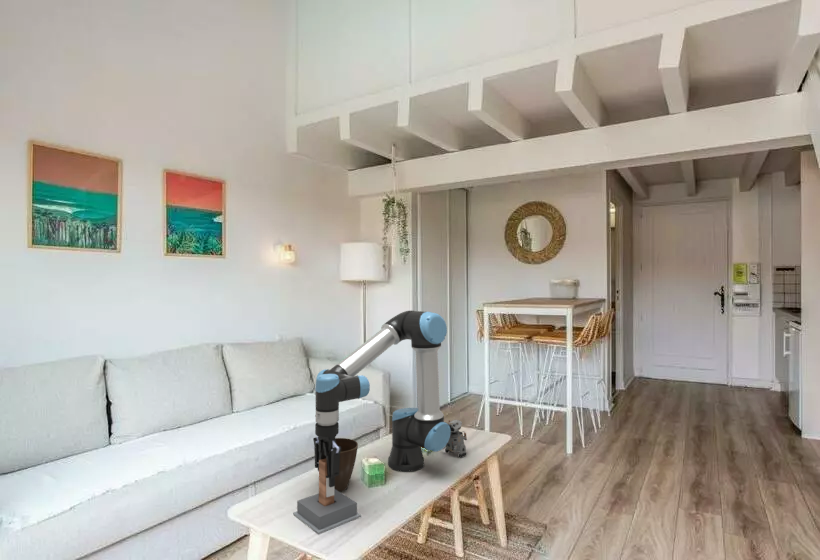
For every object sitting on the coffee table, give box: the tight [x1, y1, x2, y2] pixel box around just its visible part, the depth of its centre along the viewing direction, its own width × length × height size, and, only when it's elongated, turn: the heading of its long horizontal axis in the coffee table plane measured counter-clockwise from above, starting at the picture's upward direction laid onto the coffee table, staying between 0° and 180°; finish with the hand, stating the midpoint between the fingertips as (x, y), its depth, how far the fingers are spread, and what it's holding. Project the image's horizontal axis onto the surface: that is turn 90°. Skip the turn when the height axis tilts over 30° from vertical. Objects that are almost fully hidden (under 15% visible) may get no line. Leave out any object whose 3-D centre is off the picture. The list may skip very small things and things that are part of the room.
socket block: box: [292, 489, 362, 535], centre depth 157 cm, size 16×16×5 cm
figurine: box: [444, 419, 468, 459], centre depth 209 cm, size 9×12×15 cm
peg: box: [318, 458, 334, 506], centre depth 157 cm, size 4×4×14 cm
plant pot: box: [334, 437, 359, 492], centre depth 177 cm, size 15×15×16 cm
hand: (326, 493), depth 157 cm, fingers closed on peg, 4 cm apart
